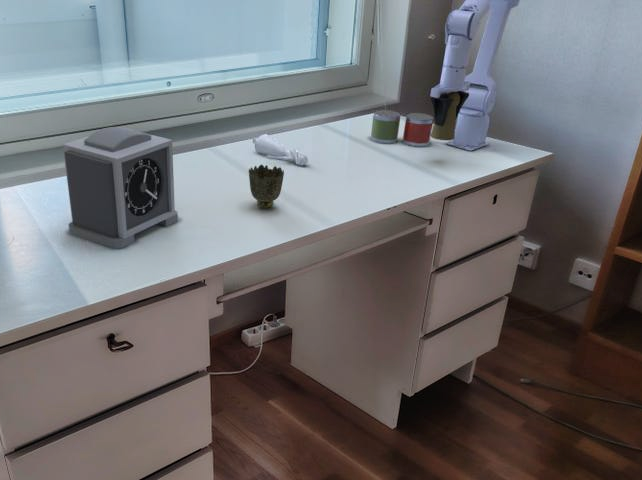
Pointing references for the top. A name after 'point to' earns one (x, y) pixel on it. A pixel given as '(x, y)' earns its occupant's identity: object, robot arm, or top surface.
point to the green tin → (385, 126)
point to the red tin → (417, 129)
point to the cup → (265, 184)
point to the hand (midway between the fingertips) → (444, 123)
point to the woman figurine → (277, 150)
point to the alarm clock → (119, 185)
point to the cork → (447, 121)
